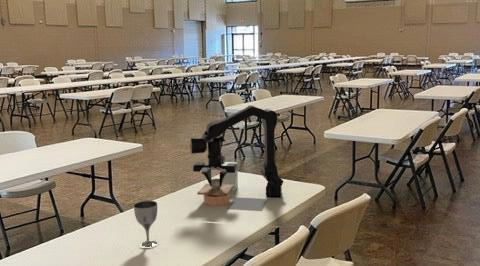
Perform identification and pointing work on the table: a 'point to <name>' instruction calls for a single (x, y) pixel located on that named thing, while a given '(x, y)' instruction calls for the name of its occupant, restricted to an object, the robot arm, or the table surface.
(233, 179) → the supplement box
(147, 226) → the wine glass
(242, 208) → the mat
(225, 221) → the table surface
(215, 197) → the bowl
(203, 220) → the table surface
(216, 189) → the lid
